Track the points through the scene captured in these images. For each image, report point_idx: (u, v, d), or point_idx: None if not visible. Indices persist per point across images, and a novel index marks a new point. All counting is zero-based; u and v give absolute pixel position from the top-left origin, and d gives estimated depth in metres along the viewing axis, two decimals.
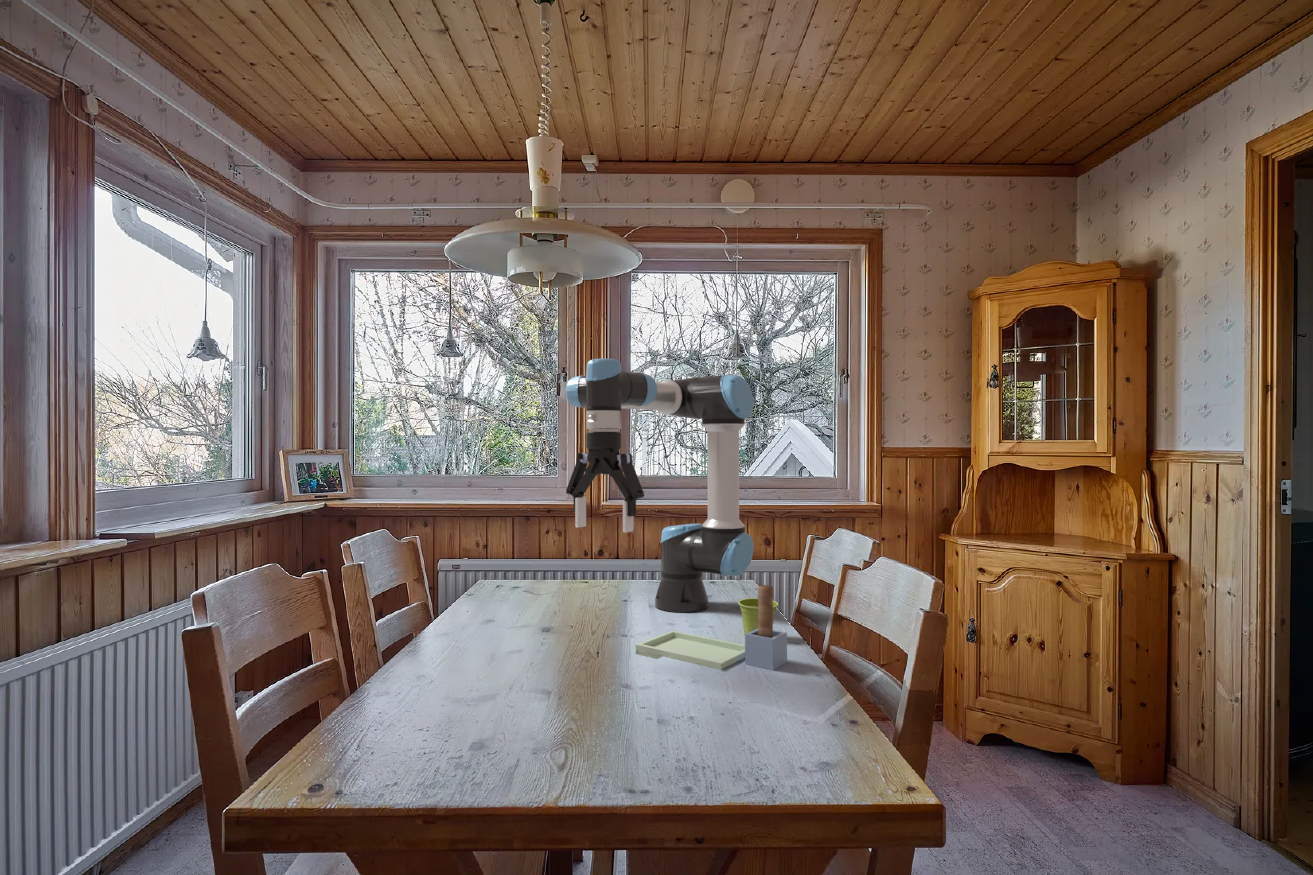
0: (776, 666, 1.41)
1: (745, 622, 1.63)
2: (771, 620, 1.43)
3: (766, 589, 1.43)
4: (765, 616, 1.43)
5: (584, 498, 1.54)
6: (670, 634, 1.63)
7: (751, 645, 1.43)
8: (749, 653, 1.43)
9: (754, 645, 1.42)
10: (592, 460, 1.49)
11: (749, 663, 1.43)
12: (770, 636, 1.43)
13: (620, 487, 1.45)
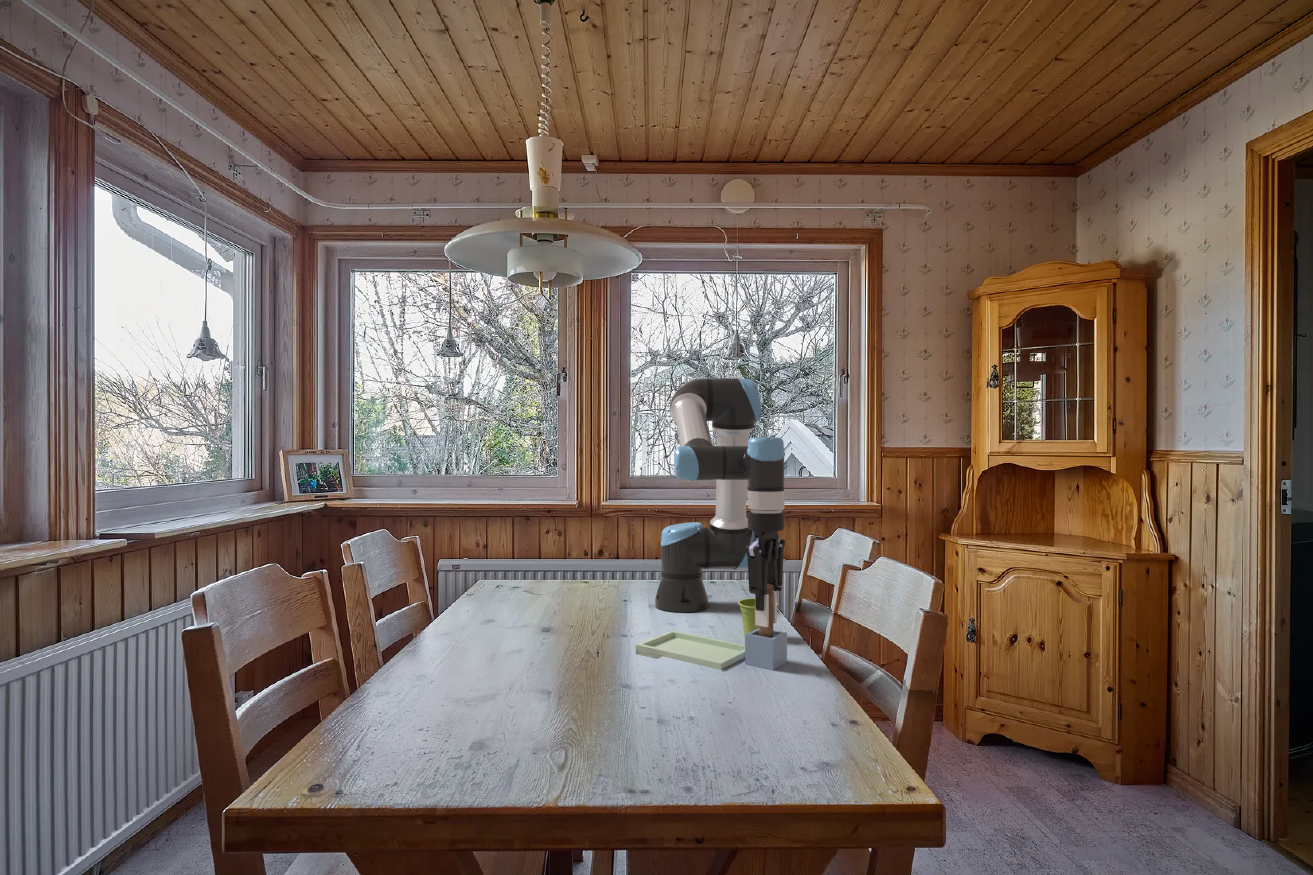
0: (776, 666, 1.41)
1: (745, 622, 1.63)
2: (772, 618, 1.44)
3: (767, 587, 1.43)
4: None
5: None
6: (670, 634, 1.63)
7: (751, 645, 1.43)
8: (749, 653, 1.43)
9: (754, 645, 1.42)
10: None
11: (749, 663, 1.43)
12: (771, 634, 1.43)
13: None
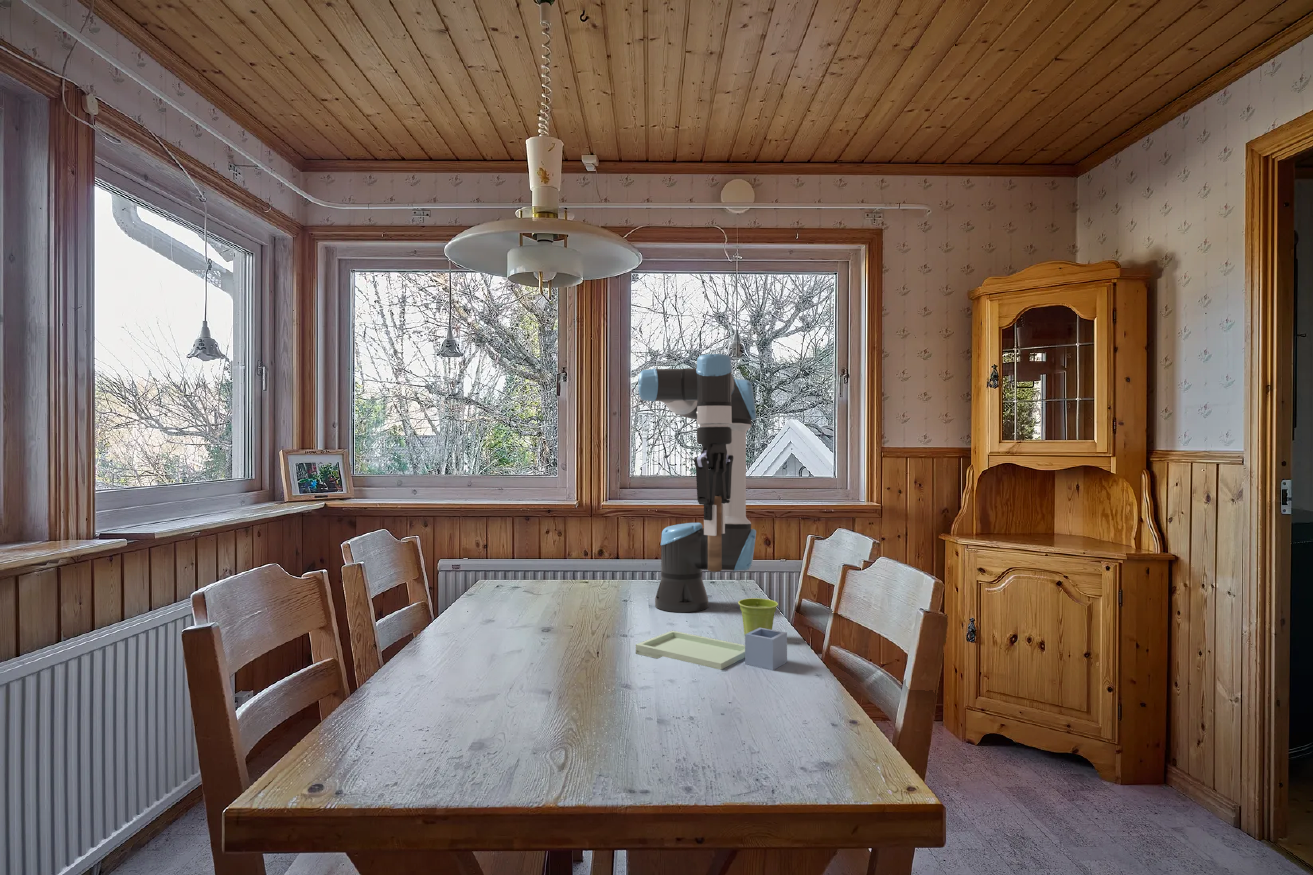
0: (776, 666, 1.41)
1: (745, 622, 1.63)
2: (720, 528, 1.50)
3: (715, 498, 1.49)
4: None
5: None
6: (670, 634, 1.63)
7: (751, 645, 1.43)
8: (749, 653, 1.43)
9: (754, 645, 1.42)
10: None
11: (749, 663, 1.43)
12: (719, 543, 1.50)
13: None
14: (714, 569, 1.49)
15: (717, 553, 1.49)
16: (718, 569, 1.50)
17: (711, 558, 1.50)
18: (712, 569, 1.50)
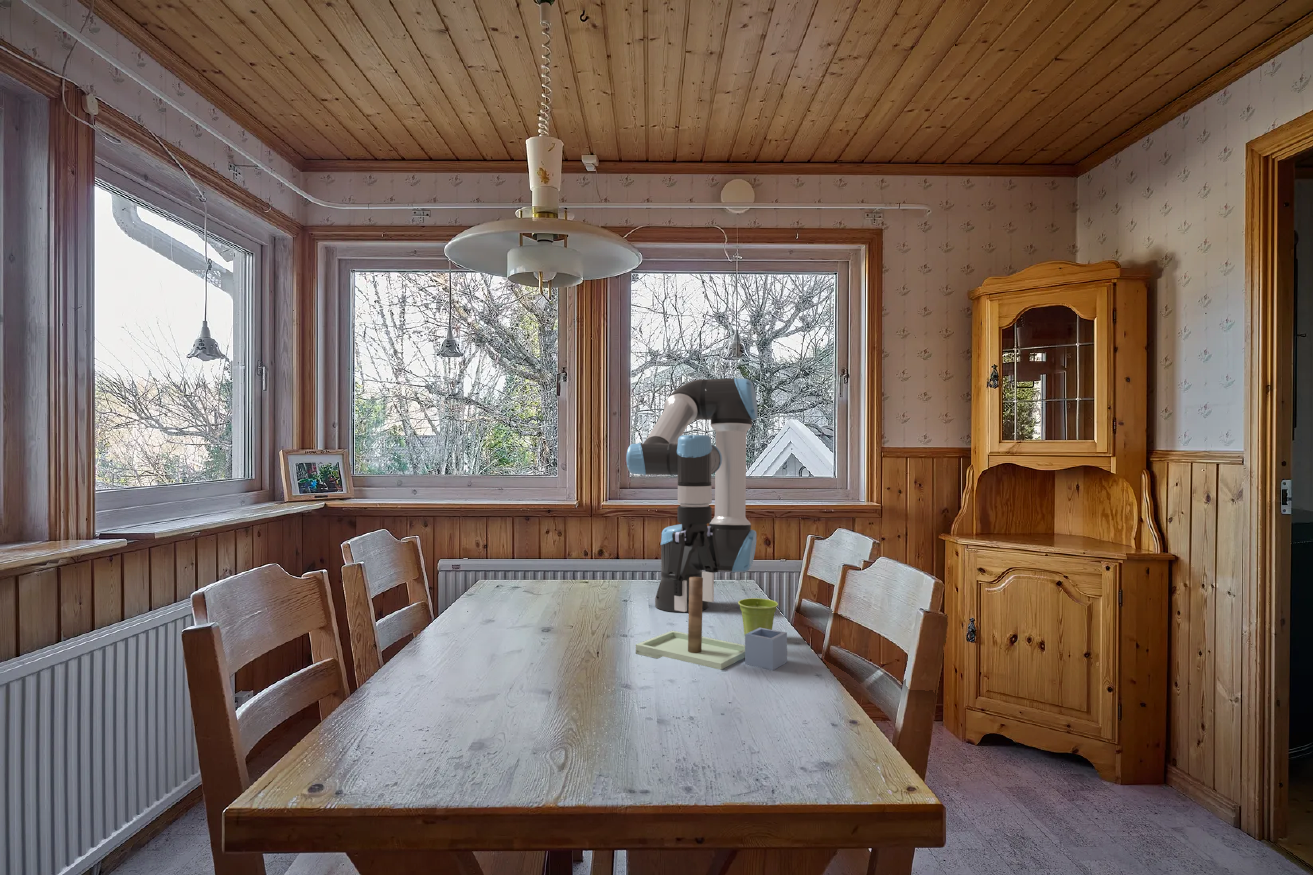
0: (776, 666, 1.41)
1: (745, 622, 1.63)
2: (700, 609, 1.52)
3: (696, 580, 1.52)
4: (694, 605, 1.51)
5: (710, 574, 1.56)
6: (670, 634, 1.63)
7: (751, 645, 1.43)
8: (749, 653, 1.43)
9: (754, 645, 1.42)
10: None
11: (749, 663, 1.43)
12: (699, 625, 1.52)
13: None
14: (694, 650, 1.51)
15: (697, 635, 1.51)
16: (698, 650, 1.51)
17: (691, 639, 1.52)
18: (692, 650, 1.51)
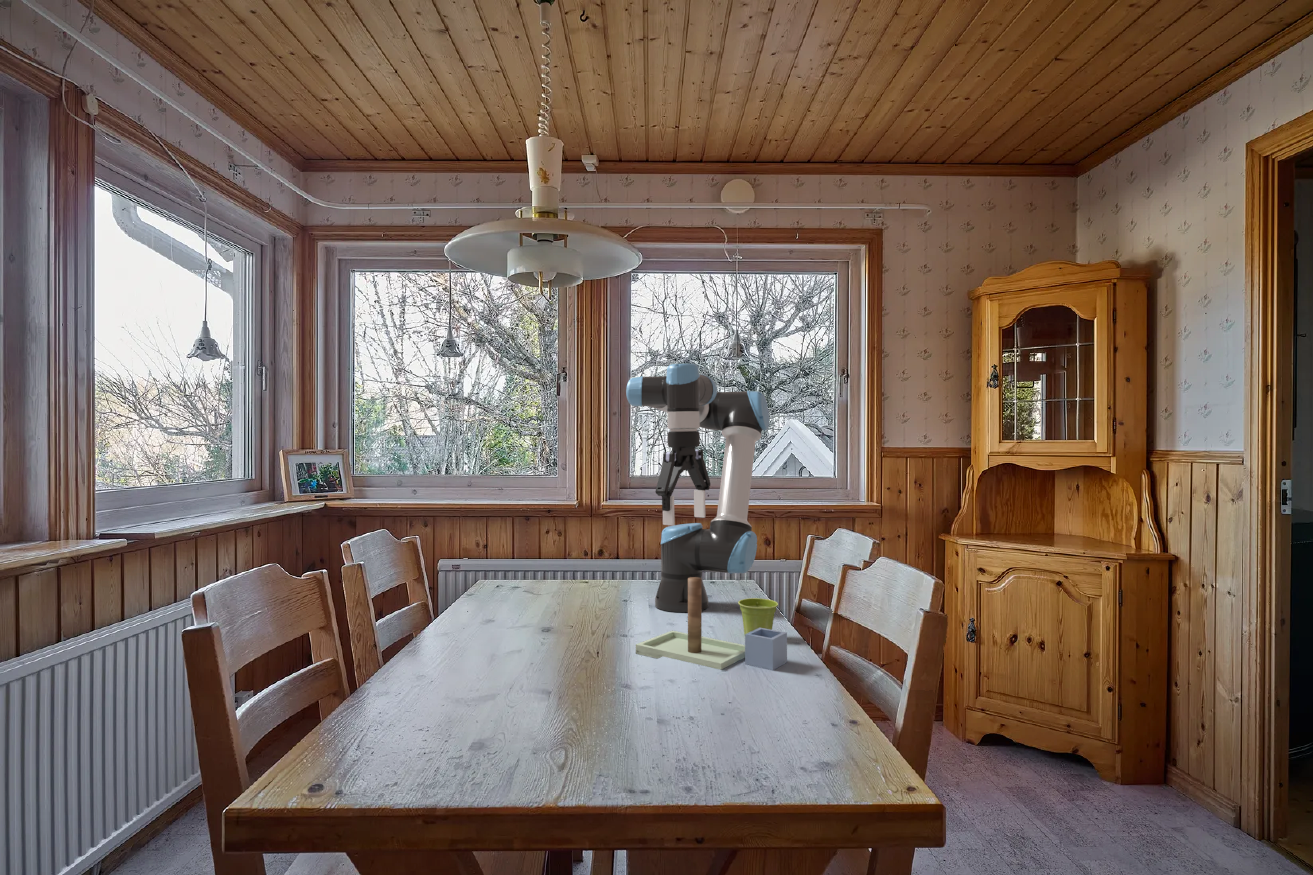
0: (776, 666, 1.41)
1: (745, 622, 1.63)
2: (699, 610, 1.52)
3: (694, 581, 1.51)
4: (693, 606, 1.51)
5: (701, 492, 1.67)
6: (670, 634, 1.63)
7: (751, 645, 1.43)
8: (749, 653, 1.43)
9: (754, 645, 1.42)
10: None
11: (749, 663, 1.43)
12: (698, 625, 1.51)
13: None
14: (694, 651, 1.51)
15: (697, 635, 1.51)
16: (698, 651, 1.51)
17: (690, 640, 1.51)
18: (692, 651, 1.51)
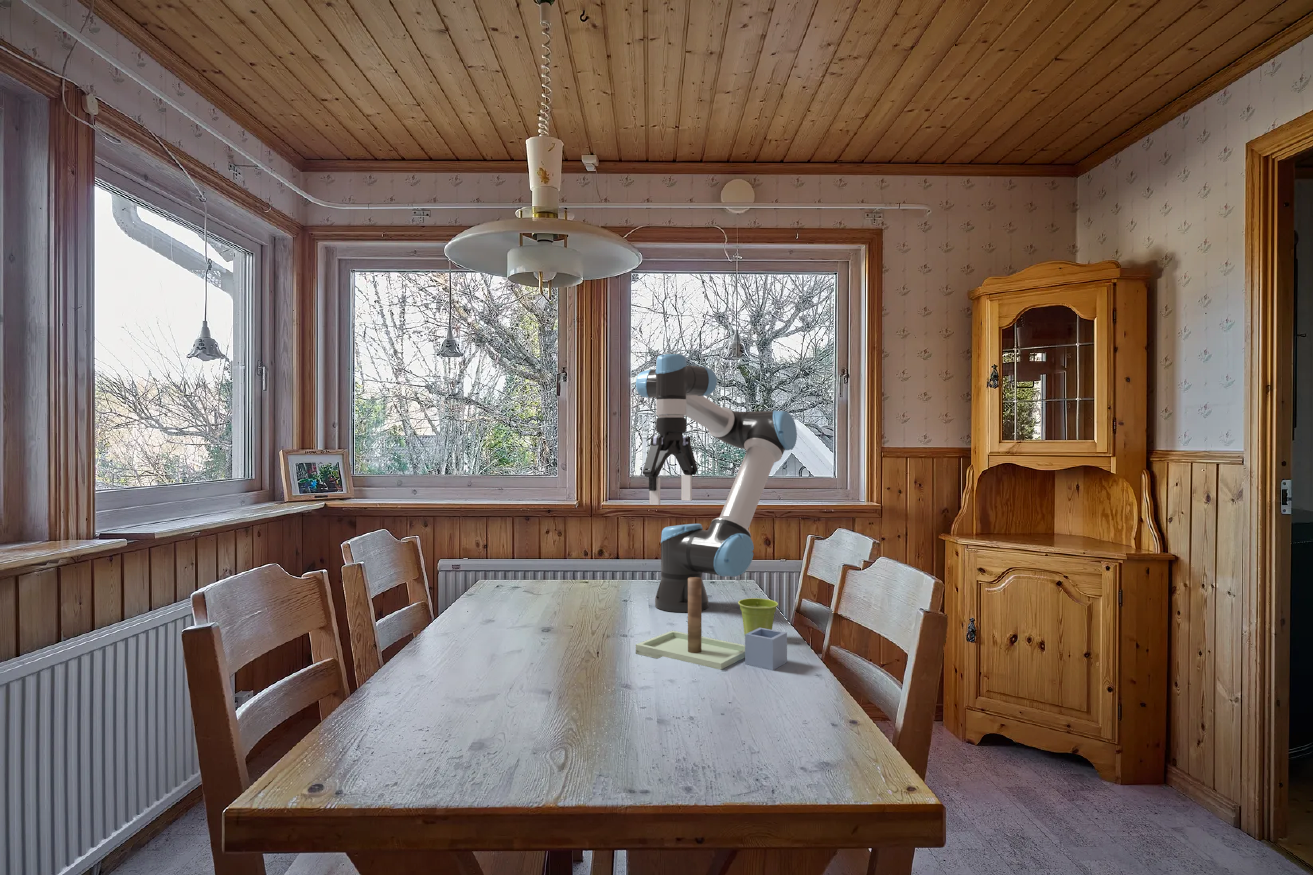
0: (776, 666, 1.41)
1: (745, 622, 1.63)
2: (699, 610, 1.52)
3: (694, 581, 1.51)
4: (693, 606, 1.51)
5: (688, 476, 1.77)
6: (670, 634, 1.63)
7: (751, 645, 1.43)
8: (749, 653, 1.43)
9: (754, 645, 1.42)
10: None
11: (749, 663, 1.43)
12: (698, 625, 1.52)
13: None
14: (694, 651, 1.51)
15: (697, 635, 1.51)
16: (698, 651, 1.51)
17: (690, 640, 1.52)
18: (692, 651, 1.51)
